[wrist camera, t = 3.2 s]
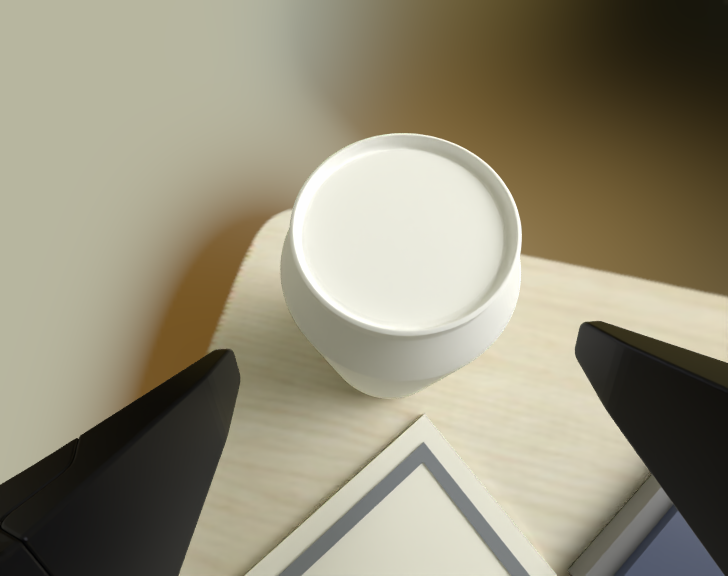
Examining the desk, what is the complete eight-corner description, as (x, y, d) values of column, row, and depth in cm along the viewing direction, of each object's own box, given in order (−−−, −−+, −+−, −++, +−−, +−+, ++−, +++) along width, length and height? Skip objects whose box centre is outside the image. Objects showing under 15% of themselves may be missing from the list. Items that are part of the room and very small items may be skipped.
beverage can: (463, 380, 18) (615, 319, 6) (346, 415, 17) (288, 414, 6) (423, 273, 20) (485, 85, 9) (318, 302, 19) (238, 145, 8)
